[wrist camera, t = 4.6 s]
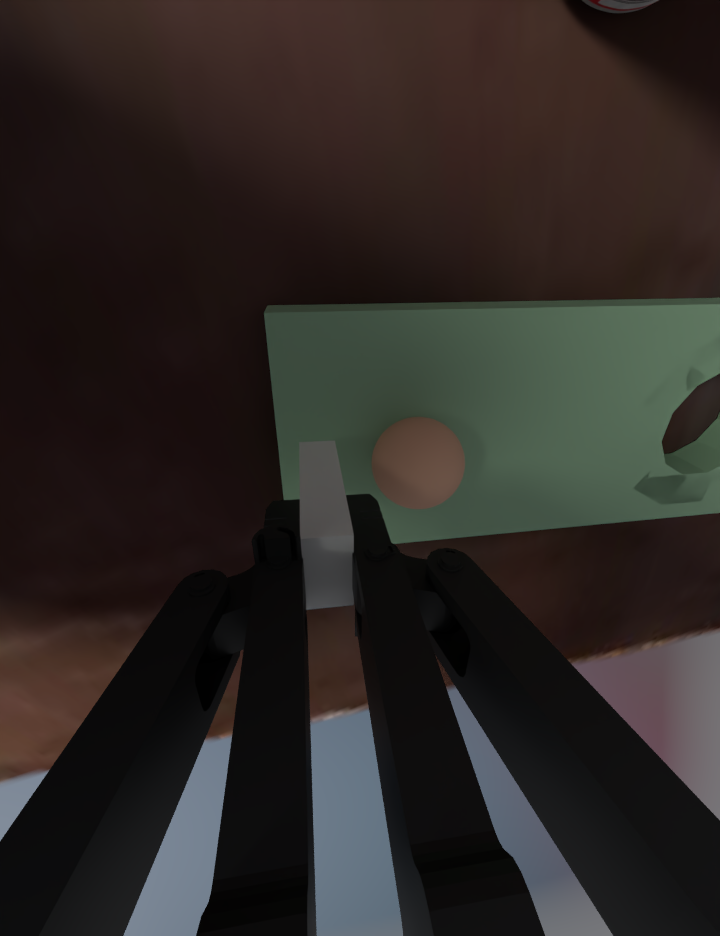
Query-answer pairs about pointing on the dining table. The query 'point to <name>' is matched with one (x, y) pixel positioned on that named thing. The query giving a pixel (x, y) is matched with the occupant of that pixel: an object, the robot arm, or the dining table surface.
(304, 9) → the dining table surface
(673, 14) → the dining table surface
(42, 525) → the dining table surface
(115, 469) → the dining table surface
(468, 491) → the putting green
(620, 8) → the soda can
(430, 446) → the ball
